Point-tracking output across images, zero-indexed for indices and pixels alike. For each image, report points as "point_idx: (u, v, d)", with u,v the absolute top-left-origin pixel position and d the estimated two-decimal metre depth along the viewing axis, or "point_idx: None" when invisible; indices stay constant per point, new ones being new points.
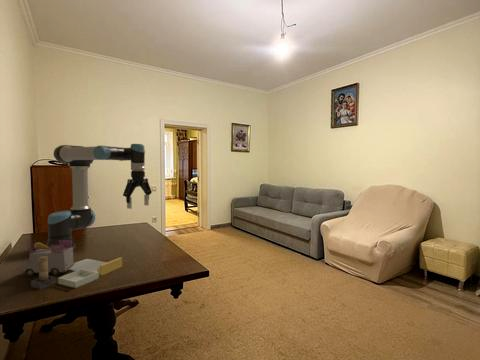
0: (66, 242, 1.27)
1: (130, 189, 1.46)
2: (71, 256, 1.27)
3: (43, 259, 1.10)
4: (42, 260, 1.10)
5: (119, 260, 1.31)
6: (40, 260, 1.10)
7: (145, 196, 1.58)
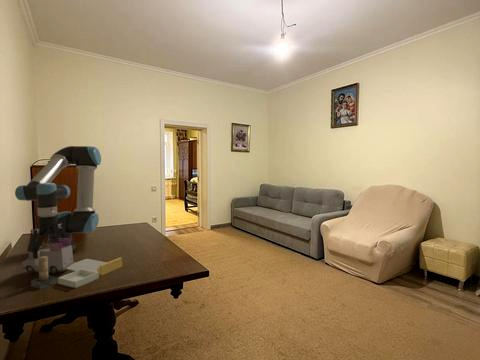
0: (65, 240, 1.26)
1: (37, 241, 1.20)
2: (70, 254, 1.26)
3: (43, 259, 1.10)
4: (42, 260, 1.10)
5: (119, 260, 1.31)
6: (40, 260, 1.10)
7: None
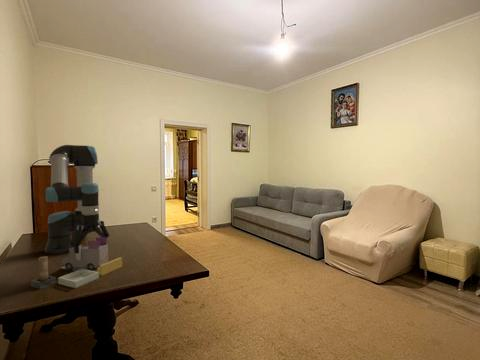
0: (102, 239, 1.32)
1: (80, 237, 1.26)
2: (106, 253, 1.31)
3: (43, 259, 1.10)
4: (42, 260, 1.10)
5: (119, 260, 1.31)
6: (40, 260, 1.10)
7: None
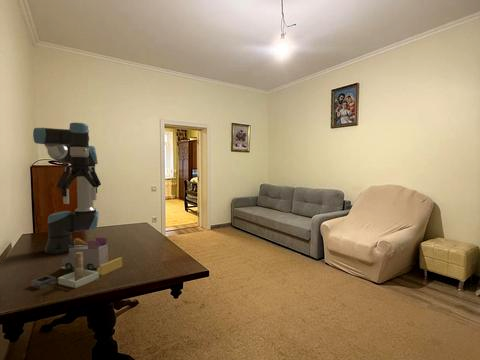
0: (102, 239, 1.32)
1: (68, 179, 1.16)
2: (106, 253, 1.31)
3: (79, 255, 1.14)
4: (78, 256, 1.14)
5: (119, 260, 1.31)
6: (76, 256, 1.13)
7: (92, 189, 1.28)
